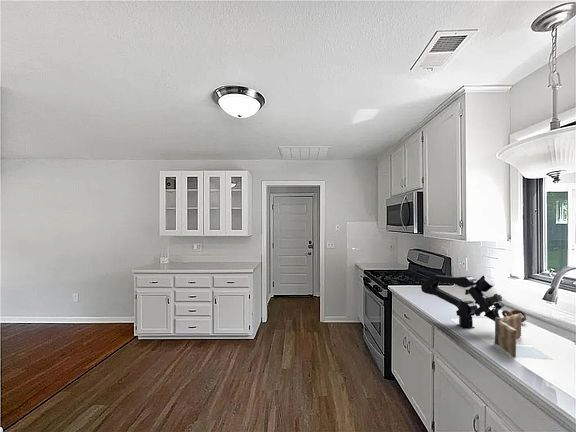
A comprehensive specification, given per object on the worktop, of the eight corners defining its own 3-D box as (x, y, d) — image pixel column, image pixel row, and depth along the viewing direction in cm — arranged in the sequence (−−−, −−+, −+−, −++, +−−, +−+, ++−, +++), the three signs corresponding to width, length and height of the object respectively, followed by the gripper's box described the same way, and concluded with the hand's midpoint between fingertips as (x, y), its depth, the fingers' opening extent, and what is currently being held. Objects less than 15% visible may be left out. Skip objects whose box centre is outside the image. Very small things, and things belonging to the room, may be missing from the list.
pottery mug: (525, 322, 199) (529, 312, 195) (521, 333, 193) (525, 322, 189) (501, 313, 206) (504, 303, 202) (497, 323, 200) (500, 313, 196)
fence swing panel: (501, 343, 161) (501, 319, 161) (498, 342, 162) (498, 318, 162) (521, 336, 171) (521, 314, 171) (518, 335, 172) (518, 313, 172)
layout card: (491, 342, 163) (491, 342, 163) (530, 345, 161) (530, 344, 161) (508, 356, 146) (508, 356, 146) (552, 360, 144) (552, 359, 144)
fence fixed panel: (493, 342, 162) (494, 317, 162) (499, 343, 162) (499, 317, 162) (511, 356, 146) (511, 328, 146) (517, 357, 145) (517, 328, 146)
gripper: (480, 289, 171) (503, 318, 161) (500, 286, 181) (523, 312, 171) (465, 302, 178) (486, 330, 168) (485, 298, 187) (506, 324, 178)
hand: (501, 324), depth 171 cm, fingers closed
